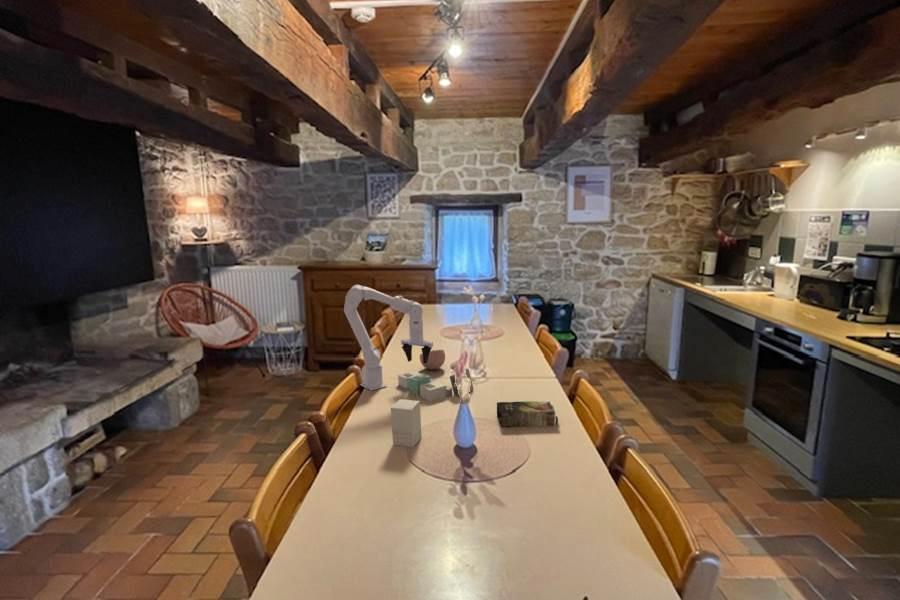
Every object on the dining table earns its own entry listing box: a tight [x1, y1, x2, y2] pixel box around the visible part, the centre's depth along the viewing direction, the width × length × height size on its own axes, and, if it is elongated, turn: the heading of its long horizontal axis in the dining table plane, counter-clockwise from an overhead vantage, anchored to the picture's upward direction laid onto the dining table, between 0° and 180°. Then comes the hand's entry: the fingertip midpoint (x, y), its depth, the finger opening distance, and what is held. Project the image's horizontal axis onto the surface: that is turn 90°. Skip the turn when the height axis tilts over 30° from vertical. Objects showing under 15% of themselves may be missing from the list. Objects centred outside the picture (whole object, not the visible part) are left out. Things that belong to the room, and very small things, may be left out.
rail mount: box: [397, 370, 453, 402], centre depth 194 cm, size 26×10×5 cm, turn 37°
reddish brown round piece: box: [419, 349, 446, 371], centre depth 219 cm, size 12×12×12 cm
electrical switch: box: [449, 368, 475, 397], centre depth 190 cm, size 9×5×9 cm, turn 141°
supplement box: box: [390, 398, 423, 448], centre depth 149 cm, size 7×7×13 cm
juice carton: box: [496, 400, 559, 428], centre depth 162 cm, size 20×10×6 cm, turn 91°
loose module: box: [409, 373, 431, 395], centre depth 193 cm, size 5×7×6 cm
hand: (417, 361), depth 199 cm, fingers open, 7 cm apart
